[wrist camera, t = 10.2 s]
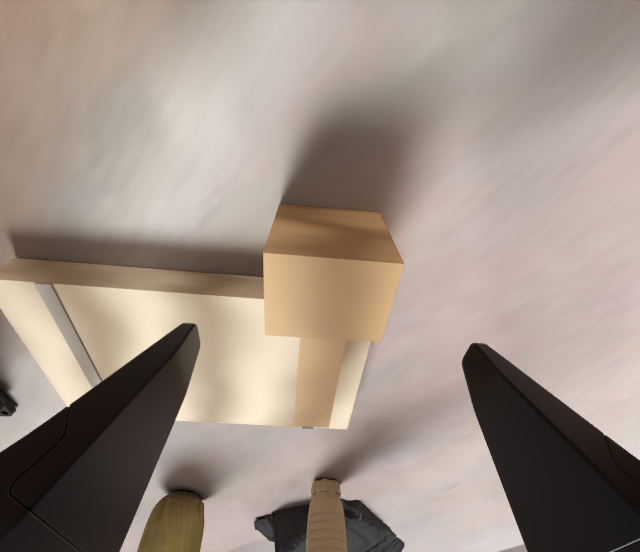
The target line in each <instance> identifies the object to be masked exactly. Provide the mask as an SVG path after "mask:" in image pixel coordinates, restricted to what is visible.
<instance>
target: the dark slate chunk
mask: <svg viewBox="0 0 640 552" xmlns="http://www.w3.org/2000/svg"><path fill="white" fill-rule="evenodd" d="M340 501H341V502H342V505H343V511H344V518H345V529H346V538H347V545H346V546H347V552H401V551H402V549H403V548H404V543H403V542H402V540H401V539H399V538H397V537H396V535H395V533H393V532H392V530H391V529H390V528H389V527H388V526H387V525H386V524H384V523H383V522H382V521H381V520H380V519H379V518H378V517H377V516H375V514H373V513H372V512H371V511H370V510H369V509H368V508H367V507H366V506H365V505H364V504H362V503H361V502H360V501H352V502H349V501H346V500H344V499H340ZM309 506H310V504H308V505H301V506H296V507H292V508H288V509H283V510H279V511H277V512H276V513H272V514H271V515H267V516H264V518H262V519H258V520H256V521H254V525H255V530H258V531H259V532H261V533H262V534H263V535H264V536H265V537H266V538H267V539H268V540H269V541H273V542H275V552H306V546H307V545H306V538H307V523H308V513H309Z"/></svg>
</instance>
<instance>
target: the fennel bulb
mask: <svg viewBox="0 0 640 552" xmlns="http://www.w3.org/2000/svg"><path fill="white" fill-rule="evenodd" d="M203 529H204V503H203V502H202V501H201V499H200V498H199V497H198V496H197V495H196V494H194V493H191V492H187V491H176V492H173V493H171V494H168V495H166V496H165V497H163V498H162V499H161V500H160V501H159V502H158V503H157V504H156V505H155V507H154V508H153V510H152V512H151V514H150V517H149V519H148V521H147V524H146V527H145V529H144V532H143V535H142V538H141V541H140V544H139V548H138V551H137V552H200V548H201V542H202V536H203Z"/></svg>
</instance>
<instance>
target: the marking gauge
mask: <svg viewBox="0 0 640 552" xmlns="http://www.w3.org/2000/svg"><path fill="white" fill-rule="evenodd" d="M403 266H404V263H403V260H402V258H401V256H400V254H399V252H398V250H397V248H396V246H395V244H394V242H393V240H392V237H391V235H390V233H389V231H388V229H387V227H386V225H385V223H384V221H383V219H382V216H381V214H380V213H378V212H366V211H355V210H344V209H333V208H321V207H310V206H299V205H288V204H279V207H278V210H277V213H276V216H275V219H274V222H273V225H272V228H271V231H270V234H269V237H268V240H267V243H266V246H265V249H264V252H263V271H264V319H265V335H270V336H286V337H300V346H299V359H298V372H297V386H296V399H295V413H294V426H306V427H327V428H329V424H330V419H331V414H332V410H333V405H334V400H335V395H336V390H337V385H338V380H339V375H340V370H341V365H342V360H343V355H344V350H345V345H346V340H348V341H364V342H379V343H381V340H382V337H383V333H384V330H385V327H386V323H387V320H388V317H389V313H390V310H391V306H392V303H393V300H394V296H395V293H396V290H397V286H398V283H399V280H400V276H401V273H402V270H403Z"/></svg>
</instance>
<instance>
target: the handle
mask: <svg viewBox="0 0 640 552" xmlns="http://www.w3.org/2000/svg"><path fill="white" fill-rule="evenodd" d="M311 495H312V497H311V500H312V501H311V502H310V506H309V513H308V523H307V538H306V545H307V546H306V552H347V546H346V545H347V538H346V529H345V518H344V511H343V505H342V502H341V501H340V495H341V492H340V486H339V483H338V482H337V481H336V480H328V479H326V478H323V479H322V480H317V481H314V482H313V484H312V490H311Z"/></svg>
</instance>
